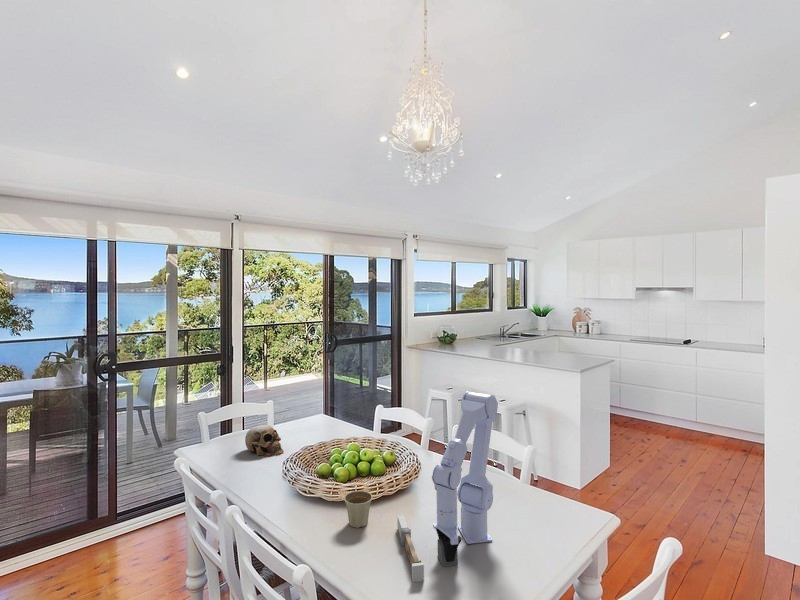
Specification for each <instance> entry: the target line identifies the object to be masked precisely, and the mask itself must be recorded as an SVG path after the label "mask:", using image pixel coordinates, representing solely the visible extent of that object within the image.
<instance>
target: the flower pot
mask: <svg viewBox="0 0 800 600" xmlns="http://www.w3.org/2000/svg"><path fill="white" fill-rule="evenodd" d="M373 498H374V497H373V494H372V493H371V492H369V491H366V490H354V491H353V490H352V491H350V492H348V493H346V494H345V495H344V497H343V500H344V502H345V505H346V510H347V518H348V524H349V526H350V527H353V528H361V527H365V526H367V524H368V523H369V516H370V515H369V514H370V506H371V503H372V500H373Z"/></svg>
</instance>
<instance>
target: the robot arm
mask: <svg viewBox="0 0 800 600" xmlns="http://www.w3.org/2000/svg"><path fill="white" fill-rule="evenodd" d="M460 406H461V407H460V408H461V411H462V413H461V416H460V419H459V423H458V427H457V429H456V433H455V436H454V438H453V439H450V440H449V442H448V443H447V445H446V448H445V451H444V453H443V455H442V458H441V461H440V463H438V464H437V465H435V467H434V468H433V471H432V475H431V480H432V483H433V485H434V490H435V491H436V522H433V523H432V527H433V529H435V531H436V534H437V537H438V539H441V541H442V543H443V546H444V552H445V558H446V561H447V562H453V561H454V559H455V555H456V551H457V552H458V547H459V545H460V544H461V542H462V537H463V539H464V541H465V542H466V544H468V545H470V544H471V545H472V544H480V543H487V542H488V543H489V542H493V538H492V537H491V535H490V533H489V532H488V511H490V509H491V507H492V506H493V502H494V493H493V491H494V489H493V488H494V486H493V484H492V483H491V481H490V480H489V479H488V477H486V473H487V467H488V459H489V458H488V457H489V449H490V444H491V443H490V441H491V437H492V436H491V435H492V427H493V423H495V422H496V420H497V414H498V408H499V403H498V400H497V397H496V395H494V394H487V393H482V392H481V393H480V392H473V391H470V390H467V391H465V392H464V393H463V395H462V398H461V402H460ZM473 429H474V435H473V442H472V449H471V455H470V456H471V457H470V463H469V472H468V474H466V475H464V476H463V477H462V472H463V467H462V465H463V463H464V460H465V457H466V455H467V452H468V446H467V441H468V440H469V437H470V436H471V433H472V432H473ZM457 487H458V488H457ZM457 489H458V490H457ZM458 502H459V503H460V504H461V507H460V525H459V522H458ZM458 530H459V531H458ZM459 532H460V533H461V534H460V535H458V533H459ZM461 536H462V537H461Z"/></svg>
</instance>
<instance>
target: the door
mask: <svg viewBox="0 0 800 600" xmlns="http://www.w3.org/2000/svg"><path fill="white" fill-rule="evenodd" d="M404 548H405V551H406V554H407V557H408V560H409V563H410V567H411V568H412V564H413V563H421V562H422V560H419V558H418V554H417V552H416V550H415V546H414V543H413V541H412V537H411V538H410V535H409V534H405V547H404Z"/></svg>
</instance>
